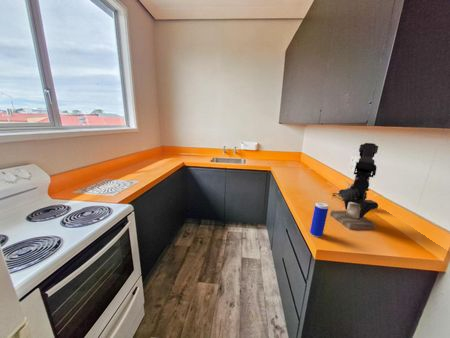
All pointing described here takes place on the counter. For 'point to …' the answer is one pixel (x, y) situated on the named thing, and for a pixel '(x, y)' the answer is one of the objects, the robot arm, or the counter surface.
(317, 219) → the beverage can
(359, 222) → the socket board
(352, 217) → the beech leg
